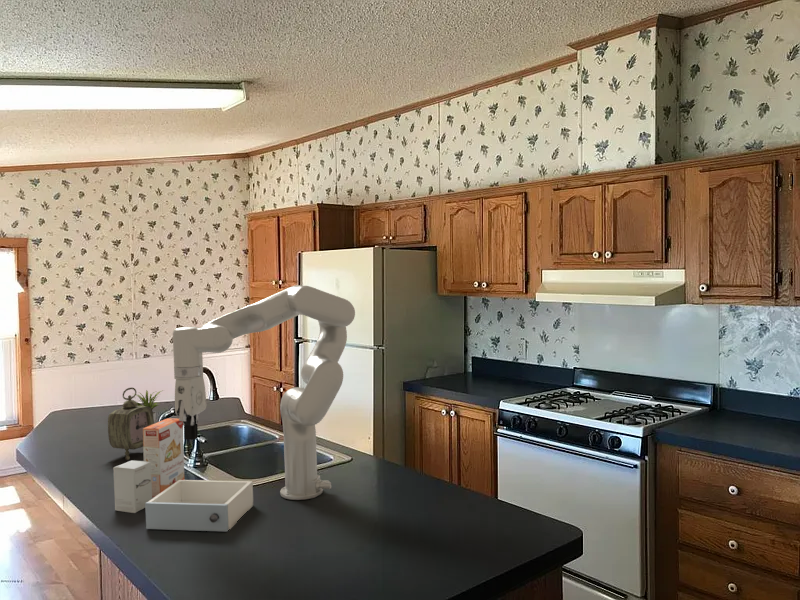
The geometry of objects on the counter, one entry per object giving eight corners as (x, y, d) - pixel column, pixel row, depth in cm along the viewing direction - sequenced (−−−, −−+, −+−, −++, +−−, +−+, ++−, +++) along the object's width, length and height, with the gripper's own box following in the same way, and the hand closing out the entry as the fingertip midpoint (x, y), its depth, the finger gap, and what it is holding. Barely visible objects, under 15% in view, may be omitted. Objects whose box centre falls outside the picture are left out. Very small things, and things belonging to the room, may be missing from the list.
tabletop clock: (128, 462, 239) (124, 392, 237) (107, 460, 242) (103, 391, 240) (155, 451, 252) (152, 384, 251) (135, 449, 255) (132, 383, 254)
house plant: (154, 421, 302) (153, 384, 301) (173, 424, 293) (172, 387, 293) (125, 427, 290) (123, 390, 289) (144, 432, 282) (142, 393, 281)
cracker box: (162, 498, 201) (159, 428, 199) (144, 497, 202) (140, 428, 201) (186, 483, 214) (183, 417, 213) (169, 482, 216) (166, 417, 214)
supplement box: (135, 513, 189) (133, 469, 188) (114, 510, 191) (112, 466, 191) (153, 504, 196) (151, 461, 195) (133, 501, 198) (131, 459, 198)
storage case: (253, 505, 193) (252, 481, 192) (228, 530, 175) (227, 504, 175) (180, 503, 196) (179, 479, 195) (148, 528, 178) (147, 501, 178)
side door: (228, 529, 175) (227, 504, 174) (225, 533, 173) (223, 507, 172) (148, 527, 178) (147, 501, 177) (144, 530, 176) (142, 504, 175)
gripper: (189, 377, 177) (191, 446, 178) (213, 368, 192) (215, 432, 193) (162, 376, 178) (164, 445, 179) (188, 368, 193) (190, 431, 194)
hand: (191, 438), depth 186 cm, fingers closed
